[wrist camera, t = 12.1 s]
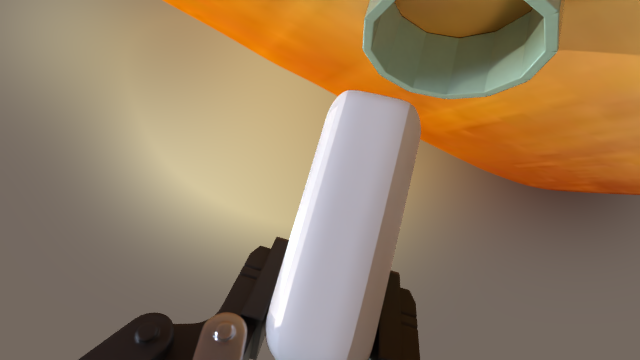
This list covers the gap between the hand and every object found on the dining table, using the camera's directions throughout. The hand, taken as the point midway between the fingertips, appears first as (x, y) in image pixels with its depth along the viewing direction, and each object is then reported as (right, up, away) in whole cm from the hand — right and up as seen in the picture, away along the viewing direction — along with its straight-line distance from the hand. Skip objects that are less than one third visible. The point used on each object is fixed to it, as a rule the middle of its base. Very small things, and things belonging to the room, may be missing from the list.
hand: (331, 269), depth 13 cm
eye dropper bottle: (+2, +6, -1) cm, 6 cm away
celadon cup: (+9, +16, +7) cm, 19 cm away
